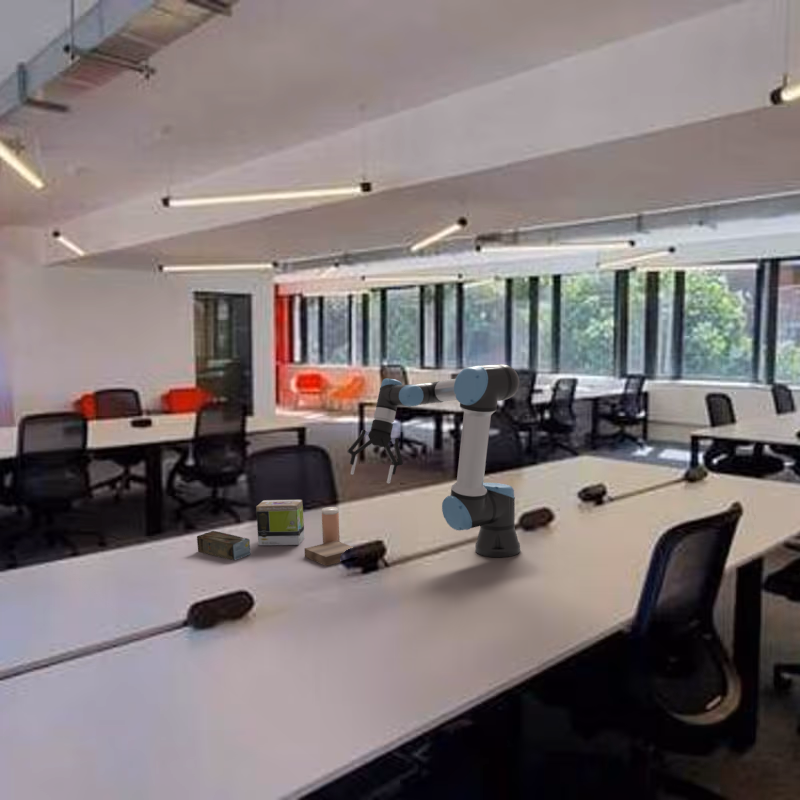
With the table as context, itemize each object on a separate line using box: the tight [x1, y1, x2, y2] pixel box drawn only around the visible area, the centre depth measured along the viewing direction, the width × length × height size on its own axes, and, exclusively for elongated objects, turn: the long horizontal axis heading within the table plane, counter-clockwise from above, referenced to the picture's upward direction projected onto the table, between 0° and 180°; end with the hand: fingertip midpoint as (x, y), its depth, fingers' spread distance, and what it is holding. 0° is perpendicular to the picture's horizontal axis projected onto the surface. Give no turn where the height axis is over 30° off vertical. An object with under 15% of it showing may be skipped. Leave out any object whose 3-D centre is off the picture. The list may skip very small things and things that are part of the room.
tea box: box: [255, 499, 305, 546], centre depth 282 cm, size 15×10×15 cm
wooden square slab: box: [304, 541, 354, 566], centre depth 263 cm, size 13×13×3 cm
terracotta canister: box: [321, 506, 341, 544], centre depth 277 cm, size 6×6×13 cm
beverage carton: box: [196, 530, 251, 561], centre depth 271 cm, size 8×19×7 cm, turn 54°
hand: (370, 478), depth 279 cm, fingers open, 13 cm apart
